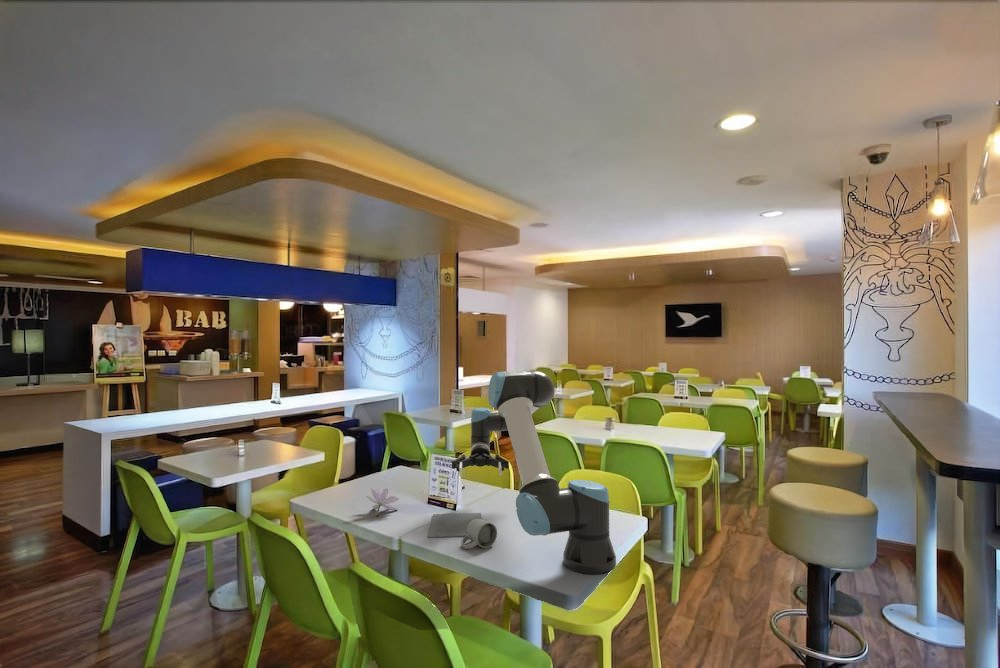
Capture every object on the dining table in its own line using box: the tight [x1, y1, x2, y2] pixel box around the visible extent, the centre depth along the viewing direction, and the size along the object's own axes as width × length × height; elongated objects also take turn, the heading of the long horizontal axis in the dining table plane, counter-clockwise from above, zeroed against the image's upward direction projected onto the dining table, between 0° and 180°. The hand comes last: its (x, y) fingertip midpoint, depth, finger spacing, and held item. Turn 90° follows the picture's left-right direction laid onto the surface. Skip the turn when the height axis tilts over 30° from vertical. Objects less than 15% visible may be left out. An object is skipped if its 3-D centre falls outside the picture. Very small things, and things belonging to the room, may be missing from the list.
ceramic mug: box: [460, 518, 498, 550], centre depth 162 cm, size 11×8×8 cm
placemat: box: [427, 512, 482, 539], centre depth 179 cm, size 22×18×1 cm
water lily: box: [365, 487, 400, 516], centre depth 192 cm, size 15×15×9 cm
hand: (480, 471), depth 172 cm, fingers open, 13 cm apart
